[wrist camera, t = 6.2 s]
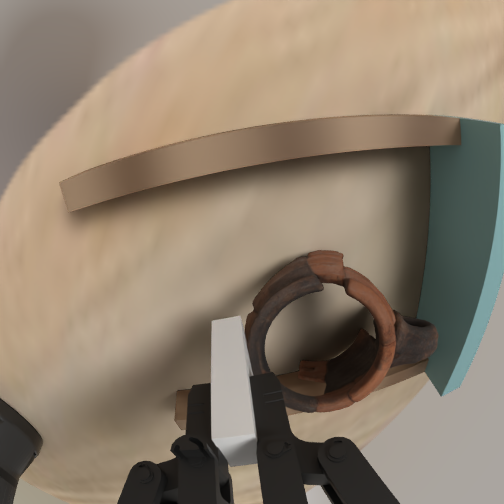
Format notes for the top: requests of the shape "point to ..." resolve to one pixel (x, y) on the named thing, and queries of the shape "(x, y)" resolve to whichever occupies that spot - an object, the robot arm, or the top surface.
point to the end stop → (463, 247)
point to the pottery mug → (363, 348)
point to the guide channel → (253, 153)
